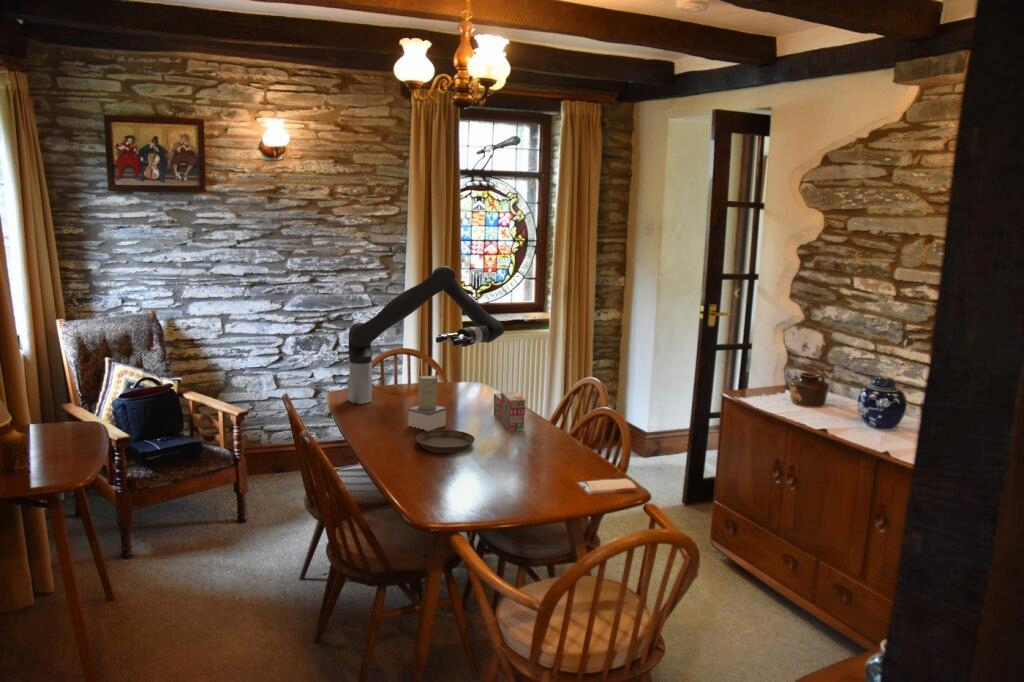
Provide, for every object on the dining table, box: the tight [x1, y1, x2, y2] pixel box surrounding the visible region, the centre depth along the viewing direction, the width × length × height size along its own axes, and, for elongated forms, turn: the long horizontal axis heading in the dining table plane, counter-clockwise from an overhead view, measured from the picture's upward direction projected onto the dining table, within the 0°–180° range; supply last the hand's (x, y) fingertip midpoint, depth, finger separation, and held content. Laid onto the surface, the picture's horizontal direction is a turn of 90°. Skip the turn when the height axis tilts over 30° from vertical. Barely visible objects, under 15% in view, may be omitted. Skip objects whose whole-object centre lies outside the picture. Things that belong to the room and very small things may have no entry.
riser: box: [408, 405, 447, 432], centre depth 297 cm, size 10×10×7 cm
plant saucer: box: [415, 429, 476, 454], centre depth 275 cm, size 21×21×3 cm
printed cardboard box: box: [493, 391, 527, 431], centre depth 305 cm, size 21×6×12 cm, turn 18°
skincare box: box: [417, 375, 438, 410], centre depth 295 cm, size 6×4×12 cm
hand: (445, 341), depth 308 cm, fingers open, 8 cm apart
